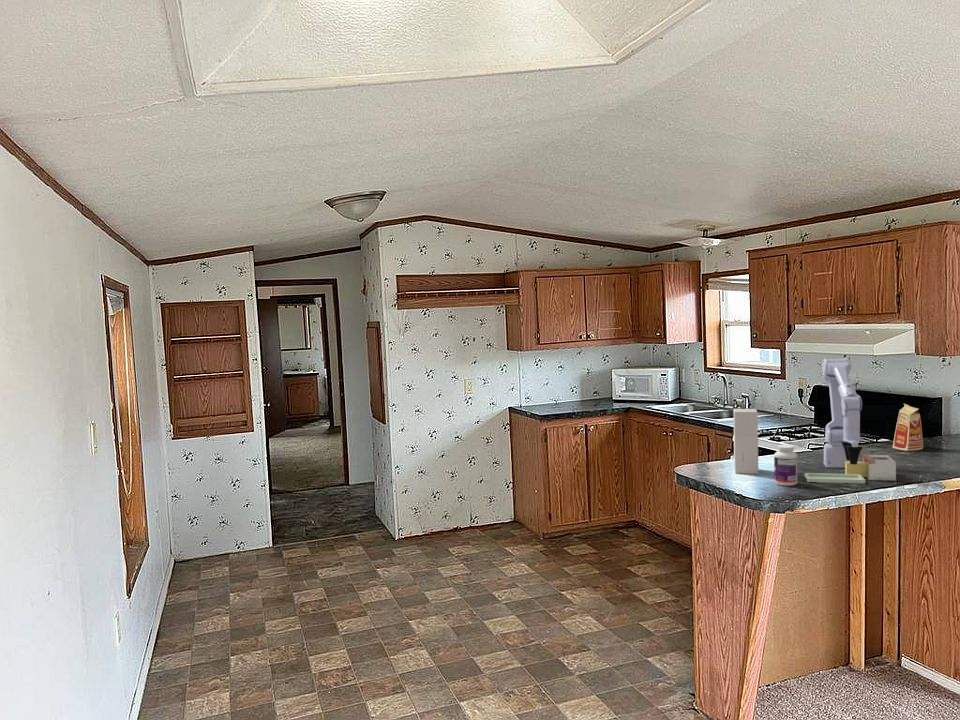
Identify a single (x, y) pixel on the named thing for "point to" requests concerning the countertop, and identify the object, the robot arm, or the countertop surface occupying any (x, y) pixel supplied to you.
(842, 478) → the tray
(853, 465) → the tan rectangular block
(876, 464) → the dispenser
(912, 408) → the milk carton
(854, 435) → the robot arm
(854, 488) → the countertop surface
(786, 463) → the pill bottle
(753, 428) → the tall white carton
